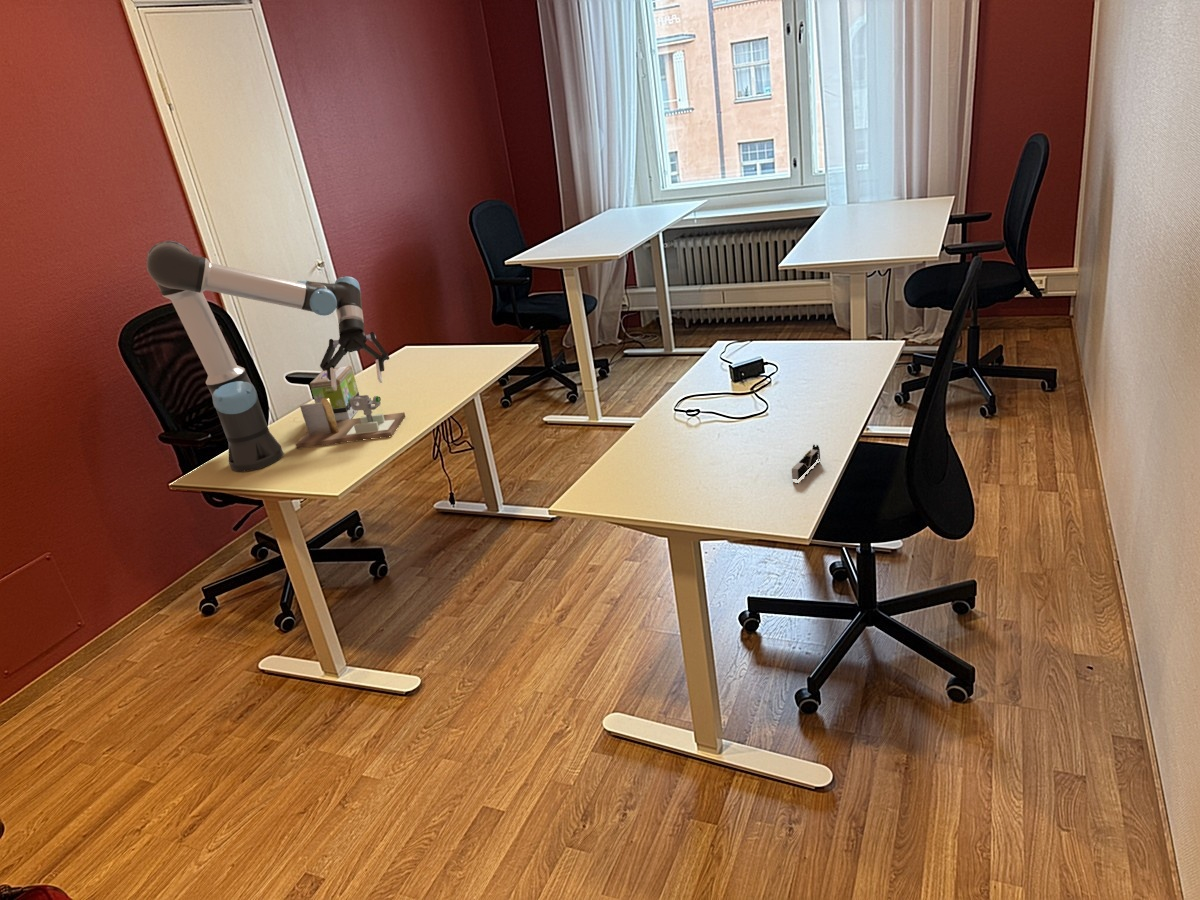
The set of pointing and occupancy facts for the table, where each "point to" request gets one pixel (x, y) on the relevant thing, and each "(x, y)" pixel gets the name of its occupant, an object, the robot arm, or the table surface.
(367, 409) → the mechanical component
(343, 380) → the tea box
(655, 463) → the table surface
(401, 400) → the table surface
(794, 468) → the graphics card
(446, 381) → the table surface
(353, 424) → the board
